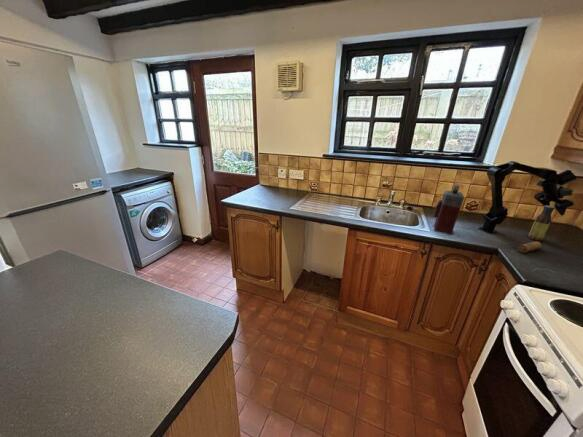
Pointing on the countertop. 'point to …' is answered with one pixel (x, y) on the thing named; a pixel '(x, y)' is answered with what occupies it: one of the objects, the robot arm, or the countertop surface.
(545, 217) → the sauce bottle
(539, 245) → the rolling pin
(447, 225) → the red bottle
